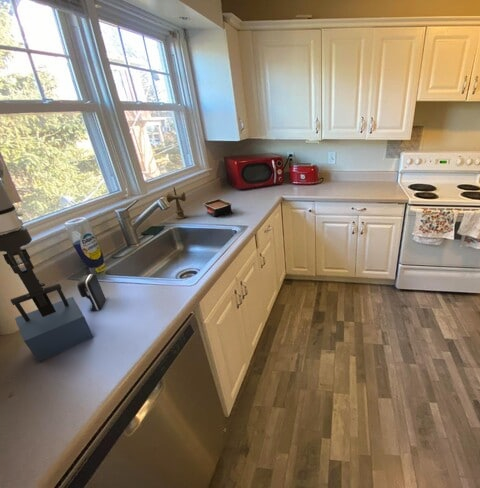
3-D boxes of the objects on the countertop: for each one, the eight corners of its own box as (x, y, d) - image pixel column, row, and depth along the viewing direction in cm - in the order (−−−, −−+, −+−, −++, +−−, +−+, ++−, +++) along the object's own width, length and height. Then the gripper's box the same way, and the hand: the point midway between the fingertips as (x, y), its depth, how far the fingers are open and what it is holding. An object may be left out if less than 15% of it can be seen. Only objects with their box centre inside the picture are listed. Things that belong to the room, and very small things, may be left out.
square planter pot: (214, 222, 173) (213, 207, 168) (202, 211, 183) (201, 197, 178) (235, 218, 182) (235, 204, 177) (223, 208, 192) (223, 194, 188)
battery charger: (93, 301, 99) (81, 274, 94) (106, 298, 100) (94, 271, 95) (87, 313, 93) (73, 284, 88) (101, 310, 94) (88, 282, 89)
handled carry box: (39, 362, 75) (30, 340, 79) (93, 337, 83) (82, 318, 87) (8, 320, 64) (-1, 296, 68) (74, 295, 72) (63, 276, 76)
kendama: (174, 217, 176) (166, 185, 167) (190, 216, 178) (183, 185, 169) (171, 220, 171) (163, 188, 162) (188, 219, 172) (180, 187, 164)
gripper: (29, 233, 62) (73, 316, 73) (20, 218, 71) (60, 295, 81) (-21, 245, 57) (33, 332, 67) (-24, 227, 66) (24, 307, 76)
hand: (48, 311), depth 74 cm, fingers closed on handled carry box, 2 cm apart
